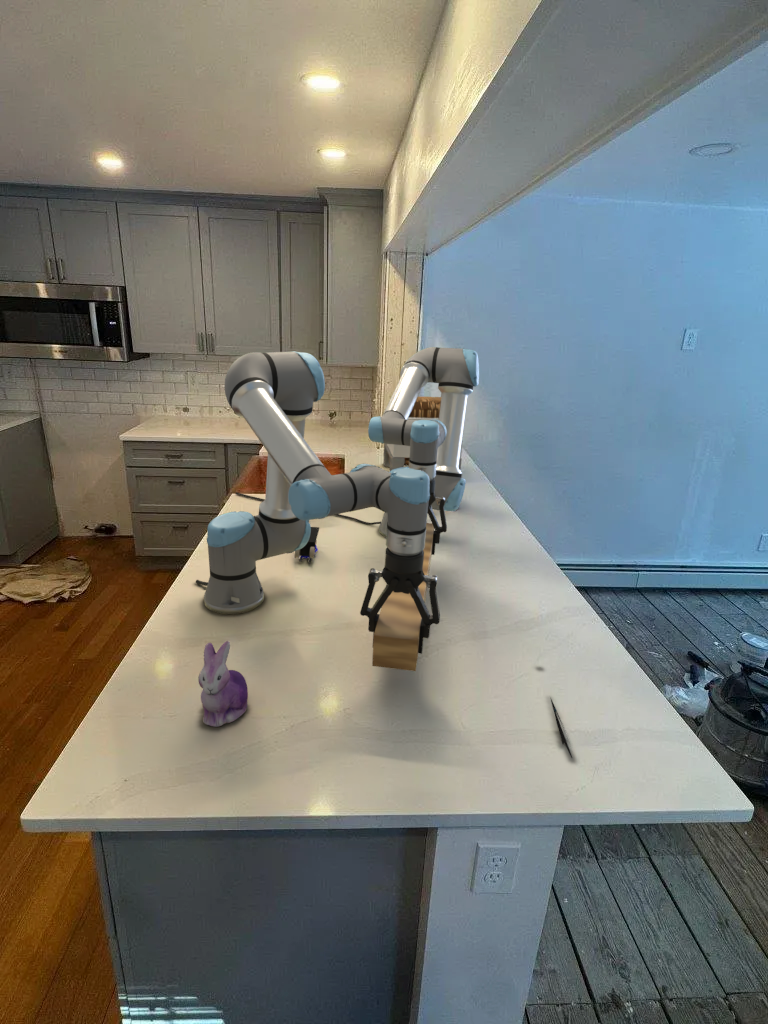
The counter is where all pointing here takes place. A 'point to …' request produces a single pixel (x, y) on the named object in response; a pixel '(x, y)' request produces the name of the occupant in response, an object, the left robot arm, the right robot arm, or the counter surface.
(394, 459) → the white slatted crate
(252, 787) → the counter surface
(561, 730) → the feather
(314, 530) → the figurine character
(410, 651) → the wide beam
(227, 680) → the figurine
